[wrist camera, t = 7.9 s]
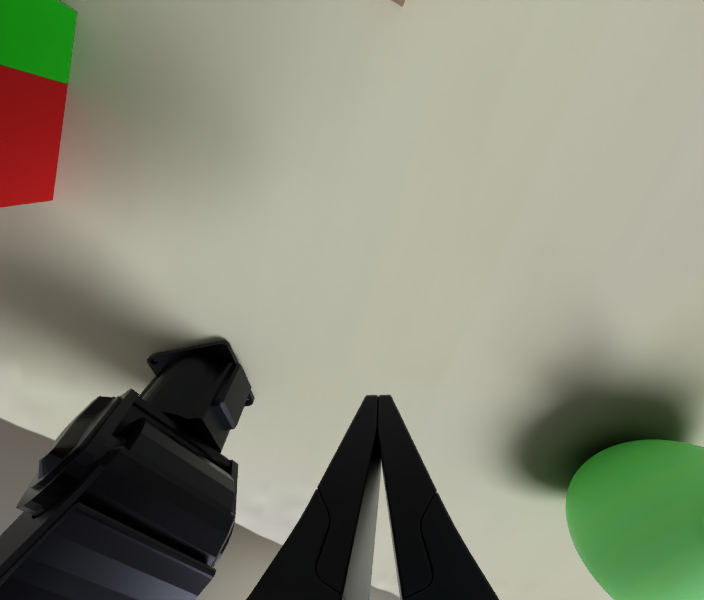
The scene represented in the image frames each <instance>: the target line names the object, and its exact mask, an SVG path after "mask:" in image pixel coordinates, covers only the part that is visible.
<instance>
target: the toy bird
mask: <svg viewBox="0 0 704 600" xmlns="http://www.w3.org/2000/svg"><path fill="white" fill-rule="evenodd" d="M566 518H567V524H568V528H569V532H570V535H571V538H572V540H573V543H574V545H575V548H576V550H577V552H578V554H579V556H580V557H581V559H582V561H583V563H584V564H585V566H586V567H587V569H588V570H589V572H590V573H591V574H592V576H593V577H594V578H595V580H596V581H597V582H598V583H599V584H600V585H601V587H602V588H603V589H604V590H605V591H606V592H607V593H608V594H609V595H610V596H611V597H612V598H613V599H614V600H704V447H701V446H697V445H693V444H689V443H684V442H678V441H670V440H637V441H630V442H625V443H621V444H618V445H614V446H612V447H609V448H607V449H604V450H602V451H600V452H599V453H597V454H595V455H594V456H592V457H591V458H590V459H588V460H587V461H586V462H585V463H584V464H583V465H582V466H581V467H580V468H579V469H578V470H577V472H576V473H575V475H574V476H573V478H572V480H571V483H570V485H569V488H568V492H567V497H566Z"/></svg>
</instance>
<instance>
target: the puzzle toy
mask: <svg viewBox="0 0 704 600" xmlns="http://www.w3.org/2000/svg"><path fill="white" fill-rule="evenodd" d="M76 16H77V11H75V10H73V9H72V8H70V7H68V6H67V5H65V4H63V3H62V2H60V1H59V0H0V207H6V206H14V205H21V204H29V203H36V202H44V201H51V200H53V194H54V186H55V178H56V171H57V163H58V155H59V147H60V140H61V132H62V124H63V116H64V109H65V101H66V93H67V85H68V78H69V70H70V62H71V54H72V47H73V39H74V31H75V24H76Z"/></svg>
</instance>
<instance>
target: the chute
mask: <svg viewBox="0 0 704 600" xmlns="http://www.w3.org/2000/svg"><path fill="white" fill-rule="evenodd" d="M392 1H394V2H396V3H397V4H399V5H401V6H403V4H404V2H405V0H392Z"/></svg>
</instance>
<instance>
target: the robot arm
mask: <svg viewBox="0 0 704 600" xmlns="http://www.w3.org/2000/svg"><path fill="white" fill-rule="evenodd" d="M222 347H225V349H223V348H222ZM155 360H156V361H155ZM147 362H148V364H149V366H150V367H151V369H152V370H153V372H154V374H155V375H156V376H155V378H154V379H153V380H152V381H151V382H150V384H149V385H148V386H147V387H146V388H145V389H144V391H143V392H142V393H141V394H140V395H139V394H138V393H137V392H135V391H134V390H133V389H130V390H128V391H127V392H126V393H124V394H123V395H121V396H120V397H119V396H118V397H102V396H99V397H97V398H96V399H95V400H93V401H92V402H91V403H90V404H89V405H88V406H87V407H86V408H85V409H84V410H83V411H82V412H81V413H80V414H79V415H78V416H77V417H76V418H75V419H74V420H73V421H72V422H71V423H70V424H69V425H68V426H67V427H66V428H65V429H64V430H63V432H62V433H61V434H60V435H59V436H58V438H57V439H56V440H55V442H54V443H53V444H52V445H51V447H50V448H49V449H48V450H47V452H46V453H45V454H44V455H43V457H42V458H41V459H40V461H39V471H38V472H37V474H36V476H35V477H34V479H33V480H32V482H31V484H30V485H29V487H28V488H27V490H26V492H25V493H24V495H23V497H22V498H21V500H20V501H19V503H18V505H17V507H16V508H18V509H20V510H22V511H24V512H23V513H22V514H21V515H20V516H19V517H18V518H17V519H16V520H15V521H14V522H13V523H12V524H11V525H10V526H9V527H8V528H7V529H6V530H5V531H4V532H3V533H2V535H1V536H0V600H195V599H196V598H197V596H198V595H199V594H200V593H201V592H202V590H203V589H204V588H205V587H206V585H207V584H208V583H209V582H210V581H211V580H212V578H213V577H214V575H215V572H216V569H215V568H213V567H214V565H215V564H216V563H217V561H218V559H219V558H220V556H221V555H222V553H223V551H224V549H225V547H226V546H227V543H228V541H229V538H230V536H231V534H232V530H233V527H234V523H235V514H236V495H237V477H238V464H237V463H236V462H235V461H233V460H229V459H227V458H226V457H225V456H223V455H222V454H220V453H221V451H222V449H223V446H224V444H225V441H226V439H227V436H228V434H229V431H230V430H231V429H235V427H236V426H237V424H238V421H239V418H240V416H241V413H242V411H243V408H244V407H245V406H250V405H252V404H253V401H254V396H253V394H252V391H251V386H250V383H249V381H248V379H247V377H246V375H245V372H244V370H243V368H242V366H241V365H240V364H239V363H238V361H237V359H236V356H235V354H234V352H233V350H232V348H231V345H230V344H229V343H228V342H226V341H219V342H214V343H209V344H203V345H198V346H193V347H187V348H182V349H177V350H171V351H166V352H161V353H156V354H152V355H151V356H150V357H149V358H148V359H147ZM138 395H139V396H138ZM247 399H248V400H247ZM381 461H382V469H383V477H384V484H385V491H386V499H387V506H388V513H389V520H390V528H391V535H392V542H393V549H394V557H395V564H396V571H397V579H398V586H399V593H400V600H499V599H498V597H497V595H496V594H495V592H494V591H493V589H492V587H491V586H490V584H489V582H488V581H487V579H486V578H485V576H484V574H483V573H482V571H481V569H480V568H479V566H478V565H477V563H476V561H475V560H474V558H473V556H472V555H471V553H470V552H469V550H468V548H467V547H466V545H465V543H464V541H463V540H462V538H461V536H460V534H459V533H458V531H457V529H456V528H455V526H454V524H453V522H452V520H451V518H450V516H449V514H448V512H447V510H446V508H445V506H444V504H443V502H442V500H441V498H440V496H439V494H438V493H437V490H436V488H435V486H434V484H433V482H432V480H431V478H430V475H429V473H428V471H427V469H426V467H425V465H424V463H423V461H422V459H421V457H420V455H419V453H418V451H417V448H416V446H415V444H414V442H413V440H412V438H411V436H410V434H409V432H408V430H407V428H406V426H405V423H404V421H403V419H402V417H401V415H400V413H399V411H398V409H397V407H396V405H395V403H394V401H393V399H392V397H391V395H379V397H378V396H377V395H367V396H366V397H365V398H364V400H363V402H362V404H361V406H360V408H359V409H358V411H357V413H356V415H355V417H354V419H353V421H352V423H351V425H350V426H349V428H348V430H347V432H346V434H345V436H344V438H343V440H342V442H341V443H340V445H339V447H338V449H337V451H336V453H335V455H334V457H333V459H332V460H331V462H330V464H329V466H328V468H327V470H326V472H325V474H324V476H323V477H322V479H321V481H320V483H319V485H318V489H316V490H315V492H314V494H313V496H312V498H311V500H310V502H309V504H308V505H307V507H306V509H305V511H304V512H303V514H302V516H301V518H300V520H299V521H298V523H297V524H296V526H295V527H294V529H293V531H292V532H291V534H290V535H289V537H288V539H287V540H286V542H285V543H284V545H283V546H282V548H281V549H280V551H279V552H278V554H277V555H276V557H275V558H274V560H273V561H272V563H271V564H270V566H269V567H268V569H267V570H266V572H265V573H264V575H263V576H262V578H261V579H260V581H259V582H258V584H257V585H256V587H255V588H254V589H253V591H252V592H251V594H250V595H249V597H248V598H247V599H246V600H369V597H370V586H371V575H372V564H373V553H374V542H375V531H376V520H377V509H378V498H379V487H380V475H381Z"/></svg>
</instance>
